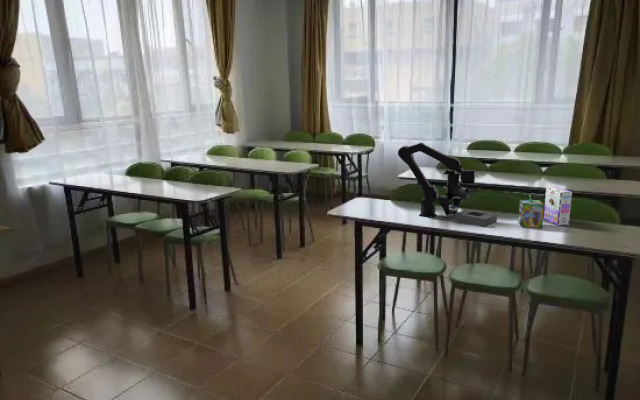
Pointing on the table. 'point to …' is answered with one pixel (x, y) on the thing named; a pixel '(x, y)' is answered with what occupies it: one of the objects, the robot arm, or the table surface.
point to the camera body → (476, 218)
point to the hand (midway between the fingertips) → (451, 213)
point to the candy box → (557, 206)
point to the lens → (452, 212)
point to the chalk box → (530, 213)
